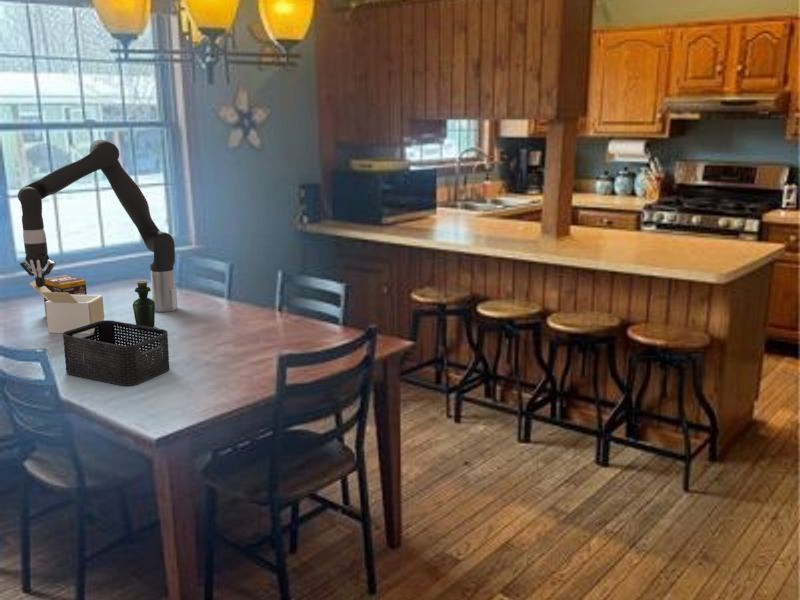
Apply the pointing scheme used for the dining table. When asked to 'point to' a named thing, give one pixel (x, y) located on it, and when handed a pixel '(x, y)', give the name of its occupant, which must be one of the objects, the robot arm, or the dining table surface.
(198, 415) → the dining table surface
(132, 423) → the dining table surface
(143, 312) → the potion bottle
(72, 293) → the supplement box
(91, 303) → the carton
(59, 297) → the long flap
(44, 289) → the short flap
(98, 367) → the storage bin
